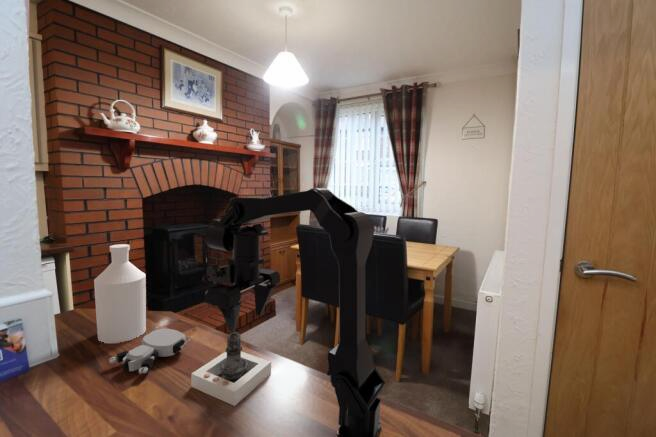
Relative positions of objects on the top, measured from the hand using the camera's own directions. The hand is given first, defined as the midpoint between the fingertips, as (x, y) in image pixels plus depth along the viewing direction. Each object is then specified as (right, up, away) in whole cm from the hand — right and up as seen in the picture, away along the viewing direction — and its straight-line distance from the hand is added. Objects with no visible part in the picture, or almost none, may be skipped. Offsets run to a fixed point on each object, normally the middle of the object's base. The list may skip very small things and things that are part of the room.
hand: (245, 322), depth 70 cm
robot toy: (-25, -11, +7) cm, 28 cm away
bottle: (-39, -9, +18) cm, 44 cm away
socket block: (-3, -13, 0) cm, 13 cm away
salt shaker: (-3, -13, 0) cm, 13 cm away
